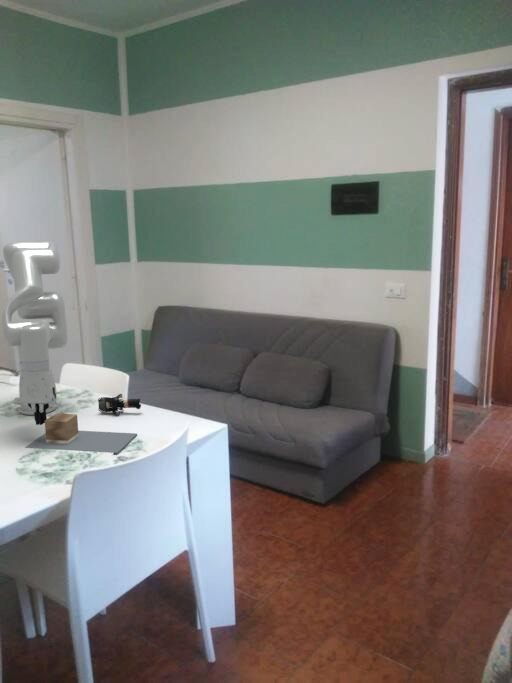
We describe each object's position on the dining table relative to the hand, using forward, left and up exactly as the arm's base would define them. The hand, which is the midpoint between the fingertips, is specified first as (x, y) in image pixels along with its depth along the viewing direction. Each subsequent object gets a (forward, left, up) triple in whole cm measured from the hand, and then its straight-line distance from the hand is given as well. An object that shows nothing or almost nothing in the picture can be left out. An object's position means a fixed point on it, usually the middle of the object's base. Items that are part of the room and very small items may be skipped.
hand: (41, 423), depth 177 cm
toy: (+14, +28, -6) cm, 32 cm away
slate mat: (+13, 0, -5) cm, 14 cm away
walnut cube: (+7, 0, -5) cm, 8 cm away
